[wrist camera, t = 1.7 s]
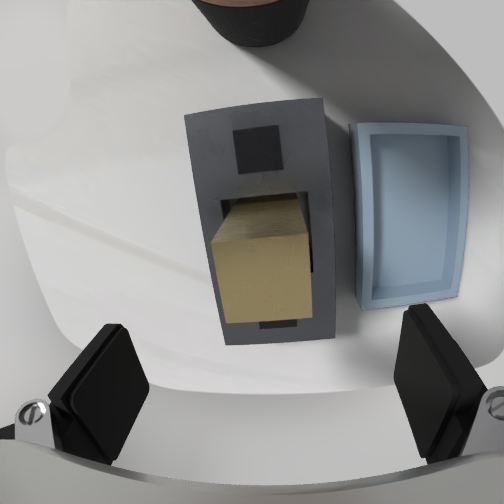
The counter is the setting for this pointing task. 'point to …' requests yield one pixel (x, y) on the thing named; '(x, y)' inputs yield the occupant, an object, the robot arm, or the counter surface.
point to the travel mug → (254, 19)
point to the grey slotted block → (269, 183)
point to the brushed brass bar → (264, 260)
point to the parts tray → (408, 211)
